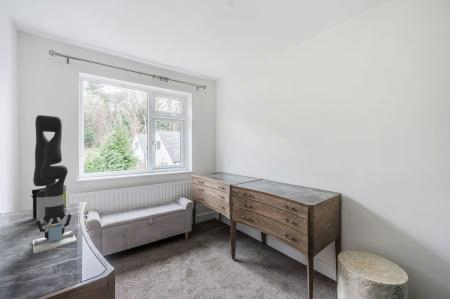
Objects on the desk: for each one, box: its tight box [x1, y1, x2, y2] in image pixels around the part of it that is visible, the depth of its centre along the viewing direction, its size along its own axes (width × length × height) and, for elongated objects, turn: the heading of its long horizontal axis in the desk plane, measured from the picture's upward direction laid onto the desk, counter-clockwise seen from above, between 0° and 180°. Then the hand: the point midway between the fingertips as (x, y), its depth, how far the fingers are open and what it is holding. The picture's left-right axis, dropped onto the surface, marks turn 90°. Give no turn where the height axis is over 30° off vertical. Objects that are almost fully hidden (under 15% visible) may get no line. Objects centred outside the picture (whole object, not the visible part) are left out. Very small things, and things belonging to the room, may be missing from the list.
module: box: [48, 223, 62, 242], centre depth 100 cm, size 7×5×7 cm
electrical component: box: [30, 185, 67, 219], centre depth 141 cm, size 18×10×20 cm, turn 168°
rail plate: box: [32, 230, 78, 254], centre depth 100 cm, size 16×16×2 cm
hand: (54, 236), depth 100 cm, fingers closed on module, 5 cm apart
